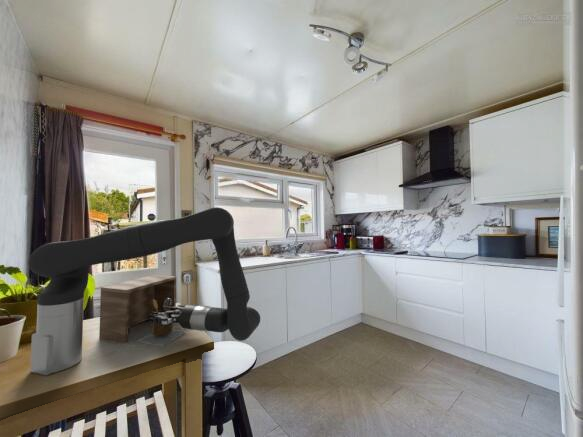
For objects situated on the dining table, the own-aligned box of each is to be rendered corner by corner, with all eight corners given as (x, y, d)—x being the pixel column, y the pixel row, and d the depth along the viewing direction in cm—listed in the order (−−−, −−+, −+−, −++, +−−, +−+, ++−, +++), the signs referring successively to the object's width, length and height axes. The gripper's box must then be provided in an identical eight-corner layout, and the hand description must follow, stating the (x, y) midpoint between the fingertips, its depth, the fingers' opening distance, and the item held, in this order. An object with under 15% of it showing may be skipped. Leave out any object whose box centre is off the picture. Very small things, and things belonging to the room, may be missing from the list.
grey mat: (162, 346, 76) (162, 344, 76) (137, 342, 79) (137, 340, 79) (185, 333, 86) (185, 331, 86) (161, 329, 89) (162, 327, 89)
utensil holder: (176, 330, 84) (176, 295, 84) (160, 338, 78) (160, 300, 79) (164, 327, 87) (164, 293, 87) (147, 334, 81) (148, 298, 81)
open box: (124, 343, 78) (126, 290, 78) (99, 338, 81) (100, 287, 82) (175, 318, 99) (176, 276, 100) (153, 315, 102) (154, 274, 103)
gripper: (212, 299, 86) (172, 295, 90) (183, 313, 72) (138, 307, 77) (212, 320, 85) (172, 315, 90) (183, 339, 72) (137, 332, 76)
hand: (156, 312), depth 83 cm, fingers closed on utensil holder, 5 cm apart
